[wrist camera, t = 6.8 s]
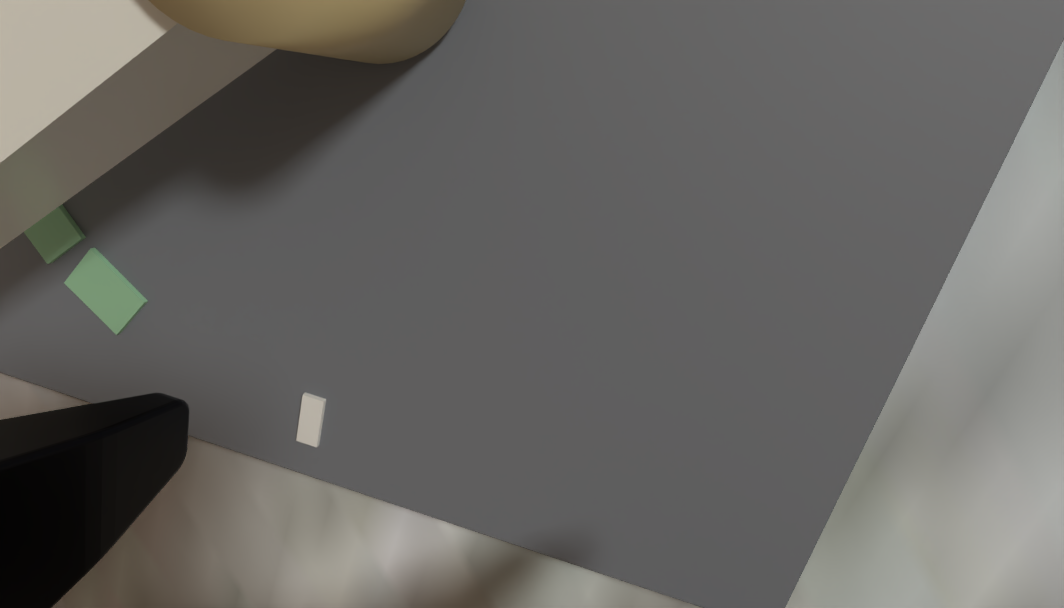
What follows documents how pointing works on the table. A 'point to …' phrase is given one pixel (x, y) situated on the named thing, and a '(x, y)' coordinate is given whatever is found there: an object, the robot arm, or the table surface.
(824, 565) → the table surface
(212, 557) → the table surface
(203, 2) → the beige and tan rod
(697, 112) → the grey flat square plate
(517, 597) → the table surface
